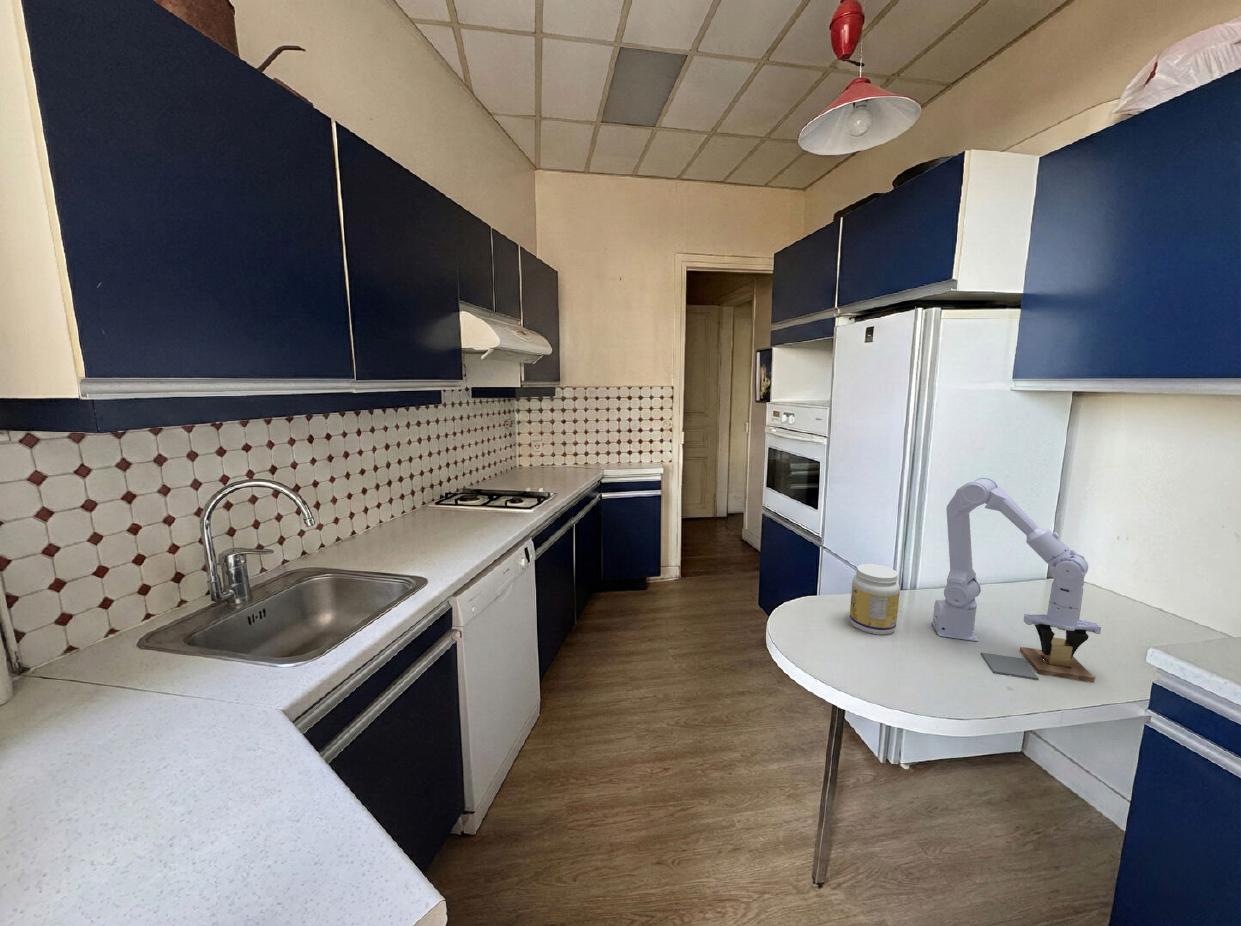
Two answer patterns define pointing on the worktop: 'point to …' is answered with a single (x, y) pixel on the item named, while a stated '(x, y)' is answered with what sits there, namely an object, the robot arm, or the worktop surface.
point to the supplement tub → (875, 599)
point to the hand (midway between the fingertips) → (1056, 654)
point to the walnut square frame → (1042, 667)
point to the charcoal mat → (1009, 666)
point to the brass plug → (1059, 653)
